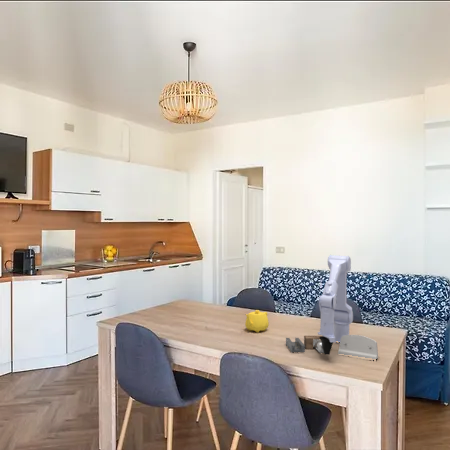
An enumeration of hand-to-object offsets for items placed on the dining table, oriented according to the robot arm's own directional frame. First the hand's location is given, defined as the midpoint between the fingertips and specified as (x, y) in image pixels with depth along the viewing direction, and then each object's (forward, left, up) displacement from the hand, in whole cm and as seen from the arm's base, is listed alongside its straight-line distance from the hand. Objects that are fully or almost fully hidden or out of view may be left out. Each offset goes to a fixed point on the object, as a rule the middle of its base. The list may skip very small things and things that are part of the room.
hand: (326, 353), depth 166 cm
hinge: (-2, +15, -2) cm, 15 cm away
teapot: (-42, -25, -2) cm, 49 cm away
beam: (-13, 0, -2) cm, 13 cm away
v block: (-12, -11, -2) cm, 16 cm away
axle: (-10, 0, -2) cm, 10 cm away
